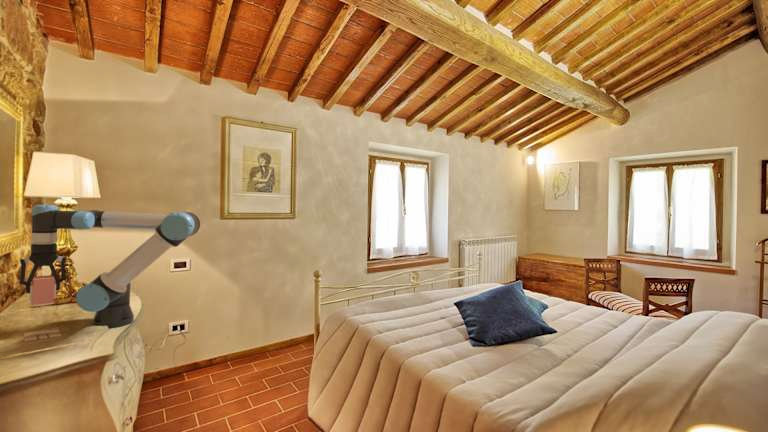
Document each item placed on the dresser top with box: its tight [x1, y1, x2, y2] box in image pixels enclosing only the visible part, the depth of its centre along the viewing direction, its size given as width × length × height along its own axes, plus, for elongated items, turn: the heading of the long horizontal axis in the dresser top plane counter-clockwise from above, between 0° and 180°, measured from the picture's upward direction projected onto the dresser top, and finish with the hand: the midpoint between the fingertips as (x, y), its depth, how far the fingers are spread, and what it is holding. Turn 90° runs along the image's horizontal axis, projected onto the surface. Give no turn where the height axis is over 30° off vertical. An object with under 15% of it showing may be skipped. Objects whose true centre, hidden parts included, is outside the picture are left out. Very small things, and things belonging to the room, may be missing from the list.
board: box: [23, 326, 63, 345], centre depth 138 cm, size 16×10×1 cm, turn 48°
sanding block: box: [31, 274, 56, 307], centre depth 140 cm, size 8×6×10 cm
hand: (42, 299), depth 140 cm, fingers closed on sanding block, 6 cm apart
